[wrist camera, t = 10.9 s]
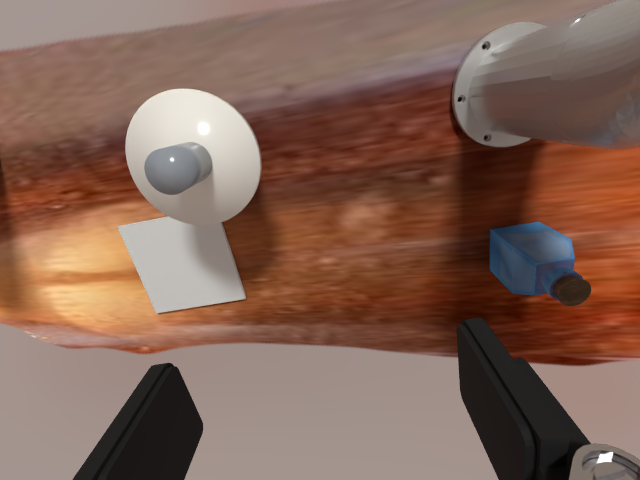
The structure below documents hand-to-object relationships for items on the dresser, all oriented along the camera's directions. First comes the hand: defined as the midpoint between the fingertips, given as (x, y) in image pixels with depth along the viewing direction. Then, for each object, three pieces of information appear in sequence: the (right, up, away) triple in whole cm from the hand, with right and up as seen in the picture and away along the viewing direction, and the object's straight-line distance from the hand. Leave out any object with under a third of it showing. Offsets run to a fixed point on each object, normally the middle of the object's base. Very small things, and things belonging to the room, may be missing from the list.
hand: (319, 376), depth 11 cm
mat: (-19, +1, +36) cm, 41 cm away
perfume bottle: (+26, +4, +34) cm, 43 cm away
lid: (-11, +12, +20) cm, 26 cm away
